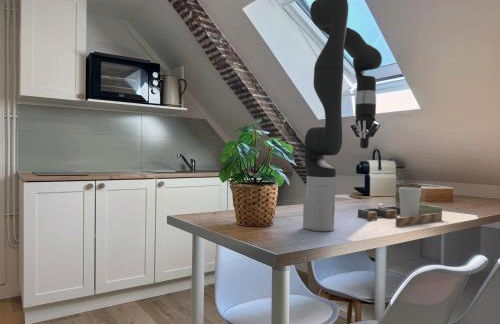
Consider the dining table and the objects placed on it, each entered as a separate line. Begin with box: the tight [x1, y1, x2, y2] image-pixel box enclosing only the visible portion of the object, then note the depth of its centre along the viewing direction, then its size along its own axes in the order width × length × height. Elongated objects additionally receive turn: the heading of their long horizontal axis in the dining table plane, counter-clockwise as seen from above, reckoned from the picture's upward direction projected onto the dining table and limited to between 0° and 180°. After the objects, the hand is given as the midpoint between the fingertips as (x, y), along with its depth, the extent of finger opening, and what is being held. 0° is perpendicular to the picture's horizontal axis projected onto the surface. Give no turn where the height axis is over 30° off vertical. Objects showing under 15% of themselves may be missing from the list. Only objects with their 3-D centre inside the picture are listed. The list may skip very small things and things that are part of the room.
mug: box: [395, 182, 422, 207], centre depth 160 cm, size 16×11×12 cm
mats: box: [377, 214, 400, 220], centre depth 147 cm, size 19×6×1 cm, turn 123°
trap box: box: [357, 203, 443, 227], centre depth 141 cm, size 27×20×5 cm
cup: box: [399, 187, 422, 217], centre depth 141 cm, size 8×8×12 cm
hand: (364, 148), depth 141 cm, fingers closed
